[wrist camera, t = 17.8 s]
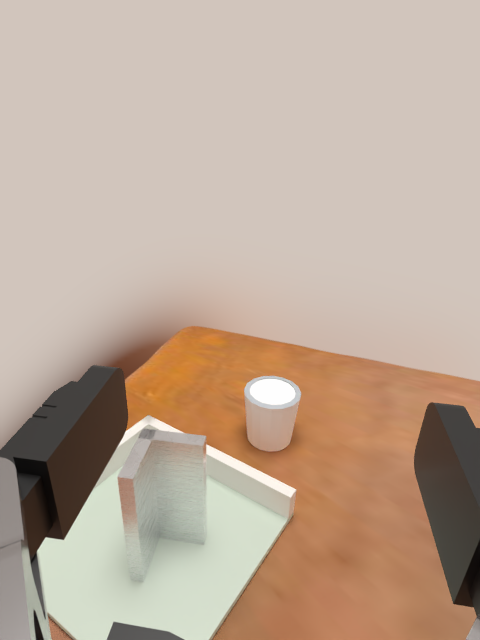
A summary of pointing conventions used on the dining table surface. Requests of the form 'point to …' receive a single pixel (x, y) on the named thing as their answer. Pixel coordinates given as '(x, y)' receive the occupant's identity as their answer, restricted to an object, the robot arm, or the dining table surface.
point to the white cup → (271, 412)
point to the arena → (163, 554)
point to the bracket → (162, 494)
